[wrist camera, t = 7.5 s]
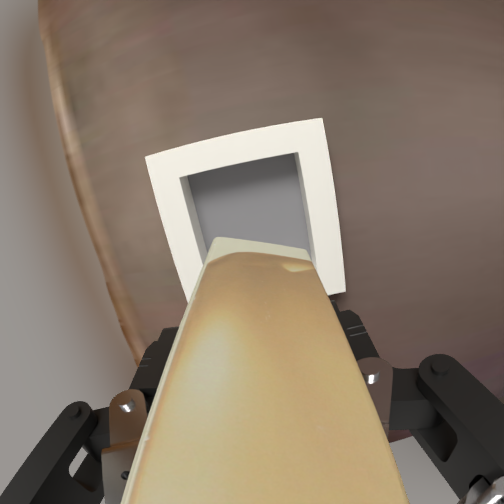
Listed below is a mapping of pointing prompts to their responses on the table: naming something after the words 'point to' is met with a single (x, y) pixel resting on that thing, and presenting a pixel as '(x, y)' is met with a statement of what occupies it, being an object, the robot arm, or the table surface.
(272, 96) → the table surface
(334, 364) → the skincare box
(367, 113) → the table surface
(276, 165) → the holder
